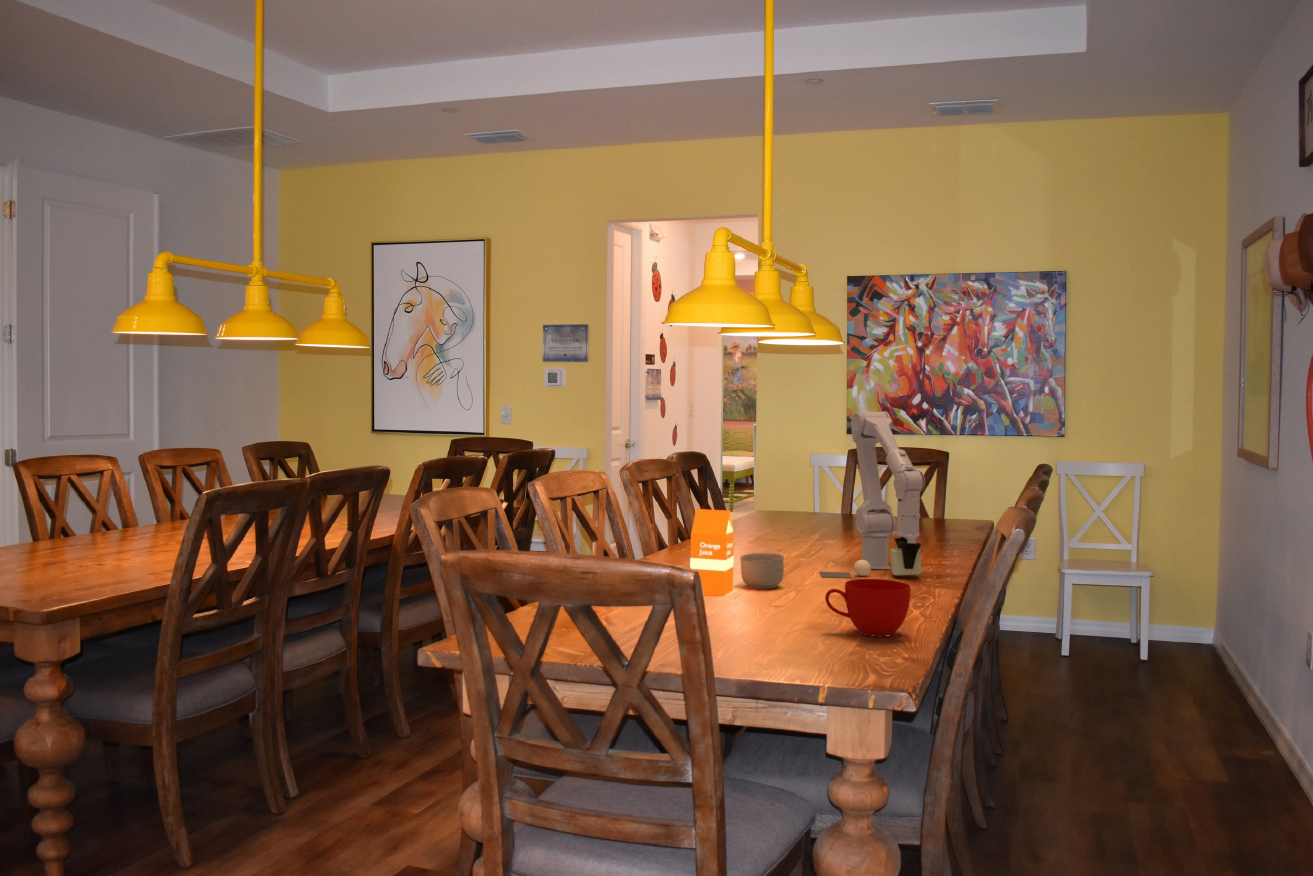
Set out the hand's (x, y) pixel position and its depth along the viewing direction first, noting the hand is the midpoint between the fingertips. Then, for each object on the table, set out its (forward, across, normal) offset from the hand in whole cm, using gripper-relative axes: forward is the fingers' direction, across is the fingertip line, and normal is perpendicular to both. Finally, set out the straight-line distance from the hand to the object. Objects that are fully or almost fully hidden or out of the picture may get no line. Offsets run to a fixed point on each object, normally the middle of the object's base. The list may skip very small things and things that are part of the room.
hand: (906, 566), depth 274 cm
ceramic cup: (+3, +68, -18) cm, 70 cm away
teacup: (+3, +19, -39) cm, 43 cm away
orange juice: (+3, +29, -51) cm, 59 cm away
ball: (+1, 0, -12) cm, 12 cm away
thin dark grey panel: (+3, 0, -19) cm, 19 cm away
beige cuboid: (+2, 0, 0) cm, 2 cm away
